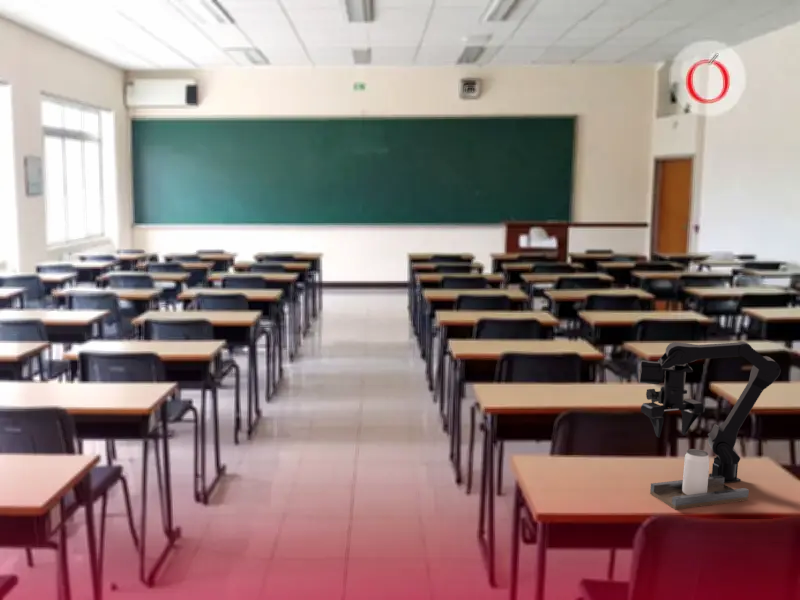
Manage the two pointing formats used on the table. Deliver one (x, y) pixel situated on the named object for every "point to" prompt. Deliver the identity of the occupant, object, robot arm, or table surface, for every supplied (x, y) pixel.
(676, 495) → the track
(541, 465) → the table surface
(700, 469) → the can
